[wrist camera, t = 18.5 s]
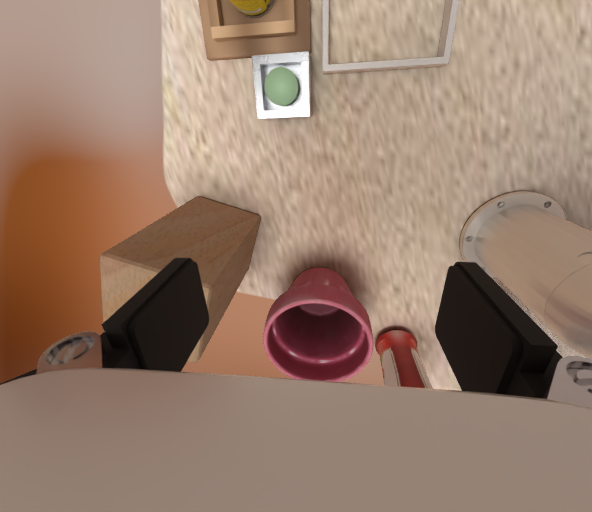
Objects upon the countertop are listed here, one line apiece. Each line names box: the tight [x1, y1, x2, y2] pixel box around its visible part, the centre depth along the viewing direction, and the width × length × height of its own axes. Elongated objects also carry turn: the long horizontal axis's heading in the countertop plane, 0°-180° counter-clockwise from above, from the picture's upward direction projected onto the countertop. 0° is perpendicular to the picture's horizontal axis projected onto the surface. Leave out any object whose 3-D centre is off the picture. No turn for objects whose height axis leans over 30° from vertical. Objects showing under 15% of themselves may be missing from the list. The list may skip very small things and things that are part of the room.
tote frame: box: [323, 0, 459, 74], centre depth 29 cm, size 13×11×2 cm
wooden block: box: [100, 196, 260, 362], centre depth 35 cm, size 10×10×20 cm
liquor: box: [375, 330, 433, 389], centre depth 37 cm, size 7×7×28 cm
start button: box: [265, 67, 300, 106], centre depth 31 cm, size 4×4×2 cm
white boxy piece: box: [252, 52, 312, 119], centre depth 32 cm, size 6×6×4 cm
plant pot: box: [263, 267, 373, 382], centre depth 41 cm, size 14×14×13 cm
